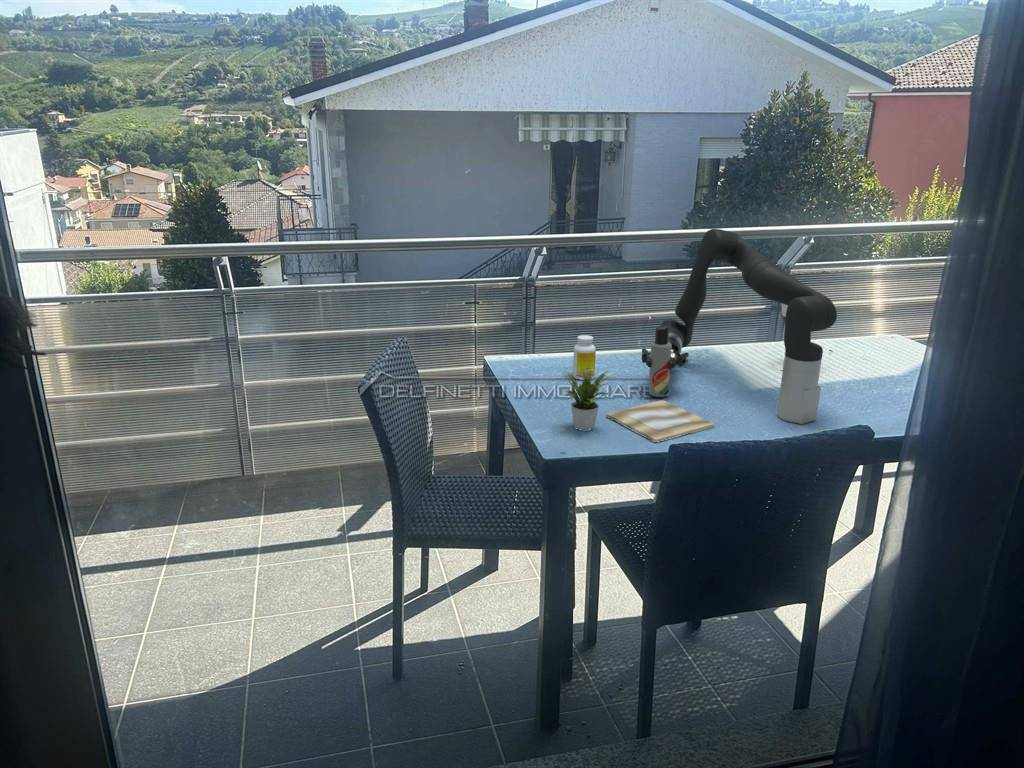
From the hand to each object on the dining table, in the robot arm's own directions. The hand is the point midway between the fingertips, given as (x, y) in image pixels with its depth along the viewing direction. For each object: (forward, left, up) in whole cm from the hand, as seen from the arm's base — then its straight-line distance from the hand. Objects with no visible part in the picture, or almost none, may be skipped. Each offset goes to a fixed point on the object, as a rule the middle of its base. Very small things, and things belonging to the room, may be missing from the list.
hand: (659, 365), depth 221 cm
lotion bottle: (+2, -2, -10) cm, 10 cm away
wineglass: (0, -55, -10) cm, 56 cm away
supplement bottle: (+26, +7, -10) cm, 29 cm away
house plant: (-7, +30, -10) cm, 33 cm away
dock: (-13, +11, -10) cm, 20 cm away
